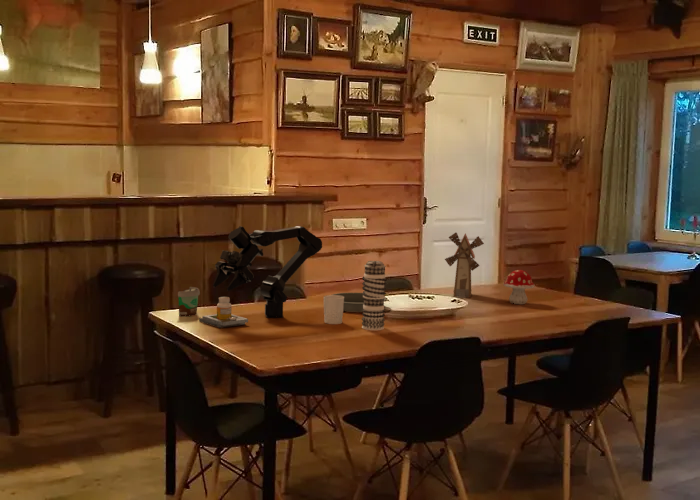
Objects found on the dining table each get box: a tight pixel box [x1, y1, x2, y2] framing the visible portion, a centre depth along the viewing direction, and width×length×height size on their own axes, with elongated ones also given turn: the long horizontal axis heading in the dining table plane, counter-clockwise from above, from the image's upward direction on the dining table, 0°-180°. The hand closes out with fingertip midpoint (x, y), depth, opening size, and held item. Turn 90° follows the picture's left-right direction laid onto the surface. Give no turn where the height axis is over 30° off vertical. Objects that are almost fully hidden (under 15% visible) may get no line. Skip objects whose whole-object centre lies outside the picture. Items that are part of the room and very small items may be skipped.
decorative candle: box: [361, 260, 388, 331], centre depth 307 cm, size 9×9×25 cm
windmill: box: [444, 232, 485, 299], centre depth 383 cm, size 18×13×30 cm
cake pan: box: [331, 292, 387, 313], centre depth 349 cm, size 25×25×4 cm
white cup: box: [323, 294, 344, 325], centre depth 316 cm, size 8×8×10 cm
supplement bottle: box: [216, 296, 232, 320], centre depth 309 cm, size 5×5×10 cm
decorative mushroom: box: [502, 269, 535, 305], centre depth 369 cm, size 14×14×15 cm
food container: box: [177, 286, 201, 317], centre depth 323 cm, size 12×6×10 cm, turn 168°
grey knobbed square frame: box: [198, 313, 249, 329], centre depth 309 cm, size 16×11×3 cm
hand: (220, 288), depth 307 cm, fingers open, 9 cm apart
